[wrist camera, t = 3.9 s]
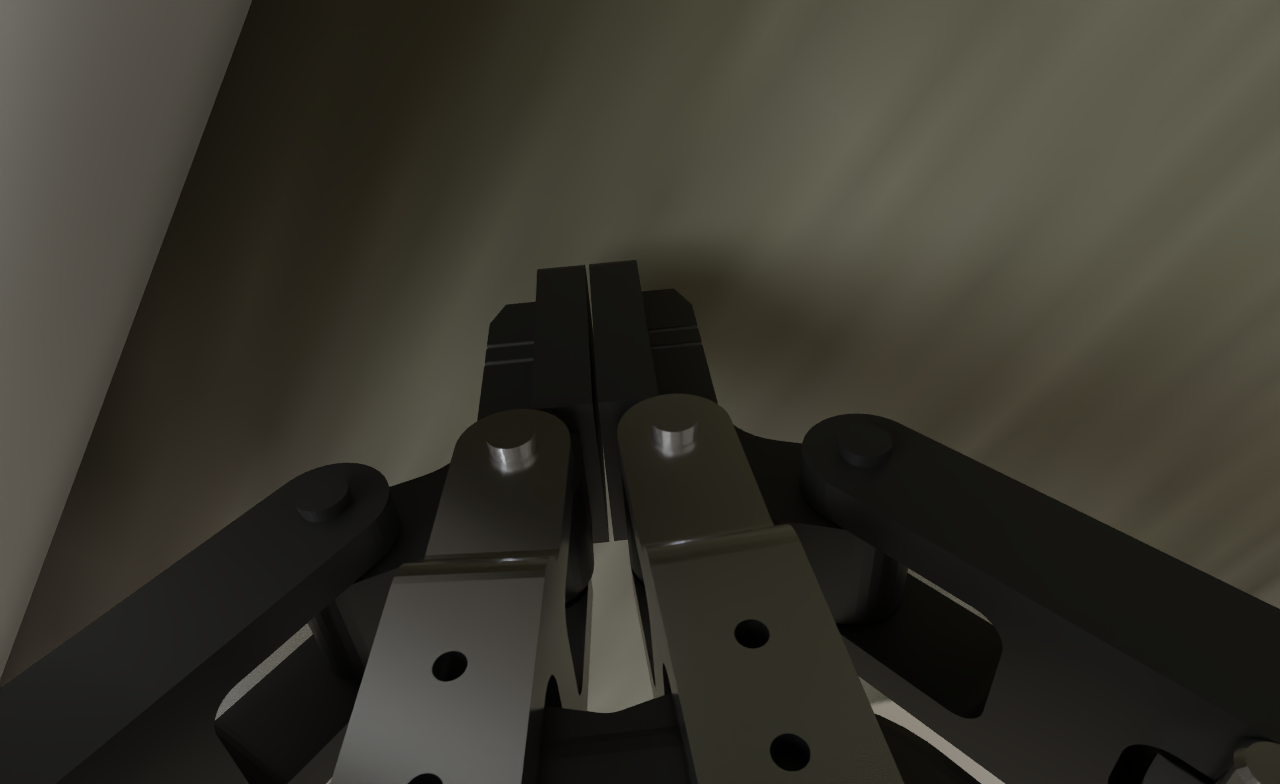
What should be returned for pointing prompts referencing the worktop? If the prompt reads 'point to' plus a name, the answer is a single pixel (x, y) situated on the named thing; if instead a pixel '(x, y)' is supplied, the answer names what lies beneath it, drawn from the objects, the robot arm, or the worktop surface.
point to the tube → (84, 226)
